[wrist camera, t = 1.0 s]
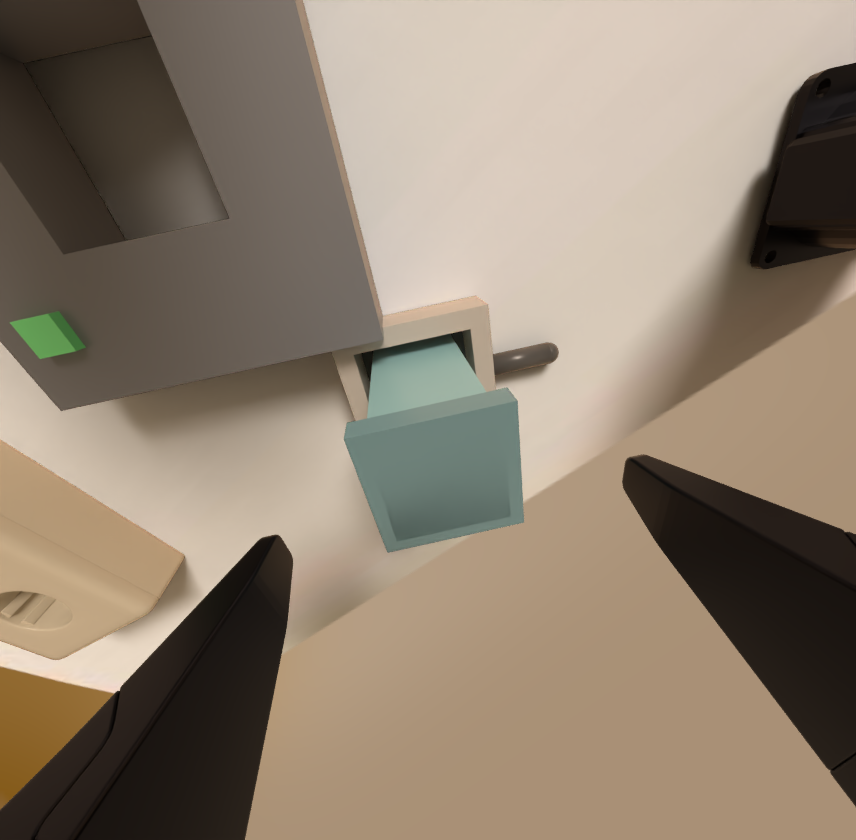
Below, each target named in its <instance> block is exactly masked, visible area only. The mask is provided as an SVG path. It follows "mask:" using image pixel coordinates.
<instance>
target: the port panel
mask: <svg viewBox="0 0 856 840" xmlns="http://www.w3.org/2000/svg"><path fill="white" fill-rule="evenodd" d="M151 35H152V37H153V39H154V42H155V44H156V47H157V49H158V51H159V54H160V56H161V58H162V61H163V63H164V65H165V68H166V70H167V72H168V75H169V77H170V80H171V82H172V84H173V87H174V89H175V91H176V94H177V96H178V98H179V101H180V103H181V105H182V108H183V110H184V112H185V115H186V117H187V120H188V122H189V124H190V127H191V129H192V131H193V134H194V136H195V138H196V141H197V143H198V145H199V148H200V150H201V153H202V155H203V157H204V160H205V162H206V164H207V167H208V169H209V171H210V174H211V176H212V178H213V181H214V183H215V186H216V188H217V190H218V193H219V195H220V197H221V200H222V202H223V204H224V207H225V209H226V211H227V214H228V216H229V218H228V219H224V220H219V221H215V222H210V223H206V224H201V225H196V226H192V227H187V228H183V229H178V230H173V231H169V232H164V233H160V234H155V235H151V236H146V237H141V238H137V239H132V240H128V241H126V240H125V239H124V237H123V235H122V233H121V232H120V230H119V228H118V226H117V225H116V223H115V221H114V220H113V218H112V216H111V214H110V213H109V211H108V209H107V208H106V206H105V204H104V202H103V201H102V199H101V197H100V195H99V194H98V192H97V190H96V189H95V187H94V185H93V183H92V182H91V180H90V178H89V176H88V175H87V173H86V171H85V170H84V168H83V166H82V164H81V163H80V161H79V159H78V157H77V156H76V154H75V152H74V151H73V149H72V147H71V145H70V144H69V142H68V140H67V139H66V137H65V135H64V133H63V132H62V130H61V128H60V126H59V125H58V123H57V121H56V120H55V118H54V116H53V114H52V113H51V111H50V109H49V107H48V106H47V104H46V102H45V101H44V99H43V97H42V95H41V94H40V92H39V90H38V89H37V87H36V85H35V83H34V82H33V80H32V78H31V76H30V75H29V73H28V71H27V70H26V68H25V66H24V64H23V63H26V62H31V61H35V60H40V59H45V58H49V57H54V56H59V55H63V54H68V53H73V52H77V51H82V50H86V49H91V48H96V47H100V46H105V45H110V44H114V43H119V42H123V41H128V40H133V39H137V38H142V37H147V36H151ZM382 326H383V315H382V311H381V307H380V303H379V299H378V295H377V291H376V287H375V283H374V280H373V276H372V272H371V268H370V264H369V260H368V256H367V252H366V248H365V244H364V240H363V236H362V232H361V228H360V224H359V220H358V216H357V212H356V208H355V204H354V201H353V197H352V193H351V189H350V185H349V181H348V177H347V173H346V169H345V165H344V161H343V157H342V153H341V149H340V145H339V141H338V137H337V133H336V129H335V125H334V122H333V118H332V114H331V110H330V106H329V102H328V98H327V94H326V90H325V86H324V82H323V78H322V74H321V70H320V66H319V62H318V58H317V54H316V50H315V46H314V42H313V39H312V35H311V31H310V27H309V23H308V19H307V15H306V11H305V7H304V3H303V0H0V342H1V343H2V344H3V345H4V346H5V347H6V348H7V350H8V351H9V352H10V353H11V354H12V355H13V357H14V358H15V359H16V360H17V361H18V362H19V363H20V365H21V366H22V367H23V368H24V369H25V370H26V371H27V373H28V374H29V375H30V376H31V377H32V378H33V379H34V381H35V382H36V383H37V384H38V385H39V386H40V387H41V389H42V390H43V391H44V392H45V393H46V394H47V395H48V397H49V398H50V399H51V400H52V401H53V402H54V403H55V405H56V406H57V407H58V408H59V409H60V410H61V411H63V410H67V409H72V408H76V407H81V406H86V405H90V404H95V403H99V402H104V401H108V400H113V399H117V398H122V397H126V396H131V395H136V394H140V393H145V392H149V391H154V390H158V389H163V388H167V387H172V386H176V385H181V384H186V383H190V382H195V381H199V380H204V379H208V378H213V377H217V376H222V375H227V374H231V373H236V372H240V371H245V370H249V369H254V368H258V367H263V366H267V365H272V364H277V363H281V362H286V361H290V360H295V359H299V358H304V357H308V356H313V355H317V354H322V353H327V352H331V351H336V350H340V349H345V348H349V347H354V346H358V345H363V344H368V343H372V342H377V341H381V340H384V332H383V328H382Z"/></svg>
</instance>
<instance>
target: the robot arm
mask: <svg viewBox="0 0 856 840" xmlns="http://www.w3.org/2000/svg"><path fill="white" fill-rule="evenodd" d="M817 87H818V91H817V93H816V89H817ZM855 249H856V63H853V64H849V65H844V66H839V67H835V68H830V69H827V70H824V71H822V72H819V73H816V74H814V75H812V76H810V77H809V78H808V79H807V80H806V81H805V82H804V84H803V85H802V86H801V88H800V90H799V93H798V95H797V99H796V102H795V106H794V109H793V113H792V116H791V120H790V123H789V127H788V130H787V134H786V137H785V141H784V144H783V148H782V151H781V155H780V158H779V162H778V165H777V169H776V172H775V176H774V179H773V183H772V186H771V190H770V193H769V197H768V200H767V204H766V208H765V211H764V215H763V218H762V222H761V225H760V229H759V232H758V236H757V239H756V243H755V246H754V250H753V253H752V257H751V262H750V263H751V266H752V267H754V268H759V269H769V268H773V267H778V266H782V265H787V264H792V263H796V262H801V261H805V260H810V259H814V258H819V257H823V256H828V255H832V254H837V253H842V252H846V251H851V250H855ZM766 255H767V257H766ZM765 257H766V258H765ZM622 483H623V488H624V490H625V492H626V494H627V495H628V497H629V499H630V500H631V502H632V503H633V505H634V507H635V509H636V510H637V512H638V514H639V515H640V517H641V519H642V520H643V522H644V523H645V525H646V527H647V528H648V530H649V532H650V533H651V535H652V536H653V538H654V540H655V541H656V543H657V544H658V546H659V547H660V548H661V550H662V551H663V552H664V554H665V555H666V556H667V558H668V559H669V560H670V562H671V563H672V564H673V566H674V567H675V568H676V569H677V571H678V572H679V573H680V575H681V576H682V577H683V579H684V580H685V581H686V583H687V584H688V585H689V587H690V588H691V589H692V590H693V592H694V593H695V595H696V596H697V597H698V598H699V600H700V601H701V603H702V604H703V605H704V606H705V608H706V609H707V610H708V612H709V613H710V614H711V616H712V617H713V618H714V620H715V621H716V622H717V624H718V625H719V626H720V628H721V629H722V630H723V632H724V633H725V634H726V636H727V637H728V638H729V639H730V641H731V642H732V643H733V645H734V646H735V647H736V649H737V650H738V651H739V653H740V654H741V655H742V657H743V658H744V659H745V661H746V662H747V663H748V664H749V666H750V667H751V669H752V670H753V671H754V673H755V674H756V675H757V676H758V678H759V679H760V680H761V682H762V683H763V684H764V686H765V687H766V688H767V690H768V691H769V692H770V694H771V695H772V696H773V698H774V699H775V700H776V702H777V703H778V704H779V706H780V707H781V708H782V710H783V711H784V712H785V713H786V715H787V716H788V717H789V719H790V720H791V721H792V723H793V724H794V725H795V727H796V728H797V729H798V731H799V732H800V733H801V735H802V736H803V737H804V739H805V740H806V741H807V743H808V744H809V745H810V746H811V748H812V749H813V750H814V752H815V753H816V754H817V756H818V757H819V758H820V760H821V761H822V762H823V764H824V765H825V766H826V768H827V769H829V770H831V771H830V773H831V775H832V776H833V777H834V779H835V780H836V781H837V783H838V784H839V785H840V787H841V788H842V789H843V791H844V792H845V793H846V794H847V796H848V797H849V798H850V800H851V801H852V802H853V804H854V805H855V806H856V534H853V533H850V532H844V531H843V530H842V529H840V528H837V527H834V526H832V525H829V524H826V523H824V522H821V521H819V520H816V519H813V518H811V517H808V516H806V515H803V514H800V513H798V512H795V511H792V510H790V509H787V508H785V507H782V506H779V505H777V504H773V503H771V502H769V501H766V500H763V499H761V498H758V497H756V496H753V495H750V494H748V493H745V492H742V491H740V490H737V489H735V488H732V487H729V486H727V485H724V484H721V483H718V482H716V481H713V480H711V479H708V478H705V477H703V476H700V475H697V474H695V473H692V472H690V471H687V470H685V469H682V468H679V467H677V466H674V465H671V464H669V463H666V462H663V461H661V460H658V459H656V458H653V457H650V456H648V455H638V456H633V457H629V458H627V460H626V461H625V467H624V474H623V481H622ZM292 569H293V558H292V555H291V553H290V551H289V549H288V548H287V546H286V545H285V543H284V541H283V540H282V538H281V537H280V536H279V535H271V536H267V537H263V538H261V539H260V540H258V541H257V543H256V544H255V545H254V546H253V547H252V548H251V549H250V550H249V551H248V552H247V553H246V554H245V555H244V556H243V557H242V559H241V560H240V561H239V562H238V563H237V564H236V565H235V566H234V567H233V568H232V569H231V570H230V571H229V572H228V573H227V574H226V576H225V577H224V578H223V579H222V580H221V581H220V582H219V583H218V584H217V585H216V586H215V587H214V588H213V589H212V590H211V592H210V593H209V594H208V595H207V596H206V597H205V598H204V599H203V600H202V601H201V602H200V603H199V604H198V605H197V606H196V608H195V609H194V610H193V611H192V612H191V613H190V614H189V615H188V616H187V617H186V618H185V619H184V620H183V621H182V622H181V623H180V625H179V626H178V627H177V628H176V629H175V630H174V631H173V632H172V633H171V634H170V635H169V636H168V637H167V638H166V639H165V641H164V642H163V643H162V644H161V645H160V646H159V647H158V648H157V649H156V650H155V651H154V652H153V653H152V654H151V655H150V656H149V658H148V659H147V660H146V661H145V662H144V663H143V664H142V665H141V666H140V667H139V668H138V669H137V670H136V671H135V672H134V673H133V675H132V676H131V677H130V678H129V679H128V680H127V681H126V682H125V683H124V684H123V685H122V686H121V688H120V691H117V692H116V693H115V694H114V695H113V696H112V697H111V698H110V699H109V700H108V701H107V702H106V703H105V704H104V705H103V706H102V707H101V709H100V710H99V711H98V712H97V713H96V714H95V715H94V716H93V717H92V718H91V719H90V720H89V721H88V723H86V724H85V725H84V726H83V727H82V728H81V729H80V730H79V732H78V733H77V734H76V735H75V736H74V737H73V738H72V739H71V740H70V741H69V742H68V743H67V744H66V745H65V746H64V747H63V748H62V750H60V751H59V752H58V753H57V754H56V755H55V756H54V757H53V758H52V759H51V760H50V761H49V762H48V763H47V764H46V765H45V766H44V767H43V768H42V769H41V770H40V771H39V772H38V773H37V774H36V775H35V776H34V777H33V778H32V779H31V780H30V781H29V782H28V783H27V784H26V785H25V786H24V787H23V788H22V789H21V790H20V791H19V792H18V793H17V794H16V795H15V796H14V797H13V798H12V799H11V800H10V801H9V802H8V803H7V804H6V805H5V806H4V807H3V808H2V809H1V810H0V840H245V836H246V831H247V825H248V820H249V815H250V811H251V806H252V800H253V795H254V790H255V785H256V781H257V775H258V770H259V765H260V760H261V755H262V750H263V745H264V740H265V735H266V730H267V724H268V720H269V715H270V710H271V704H272V700H273V695H274V689H275V684H276V679H277V674H278V669H279V664H280V659H281V654H282V649H283V644H284V639H285V634H286V628H287V621H288V612H289V602H290V591H291V580H292Z"/></svg>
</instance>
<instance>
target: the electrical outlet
mask: <svg viewBox="0 0 856 840" xmlns="http://www.w3.org/2000/svg"><path fill="white" fill-rule="evenodd" d="M184 558H185V556H184V554H182V553H181V552H179V551H178V550H176V549H174V548H173V547H171V546H170V545H168V544H166V543H165V542H163V541H162V540H160V539H158V538H157V537H155V536H154V535H152V534H150V533H149V532H147V531H146V530H144V529H142V528H141V527H139V526H138V525H136V524H134V523H133V522H131V521H130V520H128V519H126V518H125V517H123V516H122V515H120V514H118V513H117V512H115V511H114V510H112V509H110V508H109V507H107V506H106V505H104V504H102V503H101V502H99V501H98V500H96V499H94V498H93V497H91V496H90V495H88V494H86V493H85V492H83V491H82V490H80V489H78V488H77V487H75V486H74V485H72V484H71V483H69V482H67V481H66V480H64V479H63V478H61V477H59V476H58V475H56V474H55V473H53V472H51V471H50V470H48V469H47V468H45V467H43V466H42V465H40V464H39V463H37V462H35V461H34V460H32V459H31V458H29V457H27V456H26V455H24V454H23V453H21V452H19V451H18V450H16V449H15V448H13V447H11V446H10V445H8V444H7V443H5V442H3V441H2V440H0V641H2V642H5V643H8V644H10V645H13V646H16V647H19V648H22V649H24V650H27V651H30V652H33V653H35V654H38V655H41V656H44V657H46V658H49V659H53V660H60V659H63V658H66V657H67V656H69V655H71V654H73V653H75V652H77V651H79V650H81V649H83V648H84V647H86V646H88V645H90V644H92V643H94V642H96V641H98V640H100V639H101V638H103V637H105V636H107V635H109V634H111V633H113V632H115V631H117V630H118V629H120V628H122V627H124V626H126V625H128V624H130V623H132V622H134V621H135V620H137V619H139V618H141V617H143V616H145V615H147V614H148V613H149V612H150V611H151V610H152V609H153V608H154V607H155V605H156V603H157V602H158V600H159V599H160V597H161V595H162V594H163V592H164V590H165V589H166V587H167V586H168V584H169V582H170V581H171V579H172V577H173V576H174V574H175V572H176V571H177V569H178V568H179V566H180V564H181V563H182V561H183V559H184Z"/></svg>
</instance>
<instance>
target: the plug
mask: <svg viewBox="0 0 856 840" xmlns="http://www.w3.org/2000/svg"><path fill="white" fill-rule="evenodd" d="M344 441H345V444H346V446H347V449H348V451H349V454H350V457H351V459H352V462H353V464H354V467H355V469H356V472H357V475H358V477H359V480H360V482H361V485H362V488H363V490H364V493H365V495H366V498H367V501H368V503H369V506H370V508H371V511H372V514H373V516H374V519H375V521H376V524H377V527H378V529H379V532H380V534H381V537H382V539H383V542H384V545H385V547H386V550H387V552H388V553H389V552H393V551H398V550H402V549H407V548H411V547H416V546H420V545H425V544H429V543H434V542H438V541H443V540H447V539H452V538H456V537H461V536H465V535H470V534H474V533H479V532H483V531H488V530H492V529H496V528H501V527H506V526H510V525H514V524H519V523H523V522H524V514H523V495H522V476H521V458H520V439H519V420H518V402H517V400H516V398H515V397H514V396H513V394H512V393H511V392H510V391H509V389H508V388H503V389H498V390H494V391H489V392H486V390H485V389H484V387H483V386H482V384H481V382H480V381H479V379H478V378H477V376H476V374H475V373H474V371H473V370H472V368H471V367H470V365H469V363H468V362H467V360H466V359H465V357H464V355H463V354H462V352H461V351H460V349H459V347H458V346H457V344H456V343H455V341H454V339H453V338H452V336H451V335H450V334H446V335H441V336H437V337H432V338H428V339H423V340H418V341H414V342H409V343H405V344H400V345H396V346H391V347H387V348H382V349H378V350H373V361H372V371H371V382H370V392H369V403H368V414H367V419H362V420H358V421H353V422H349V423H347V425H346V430H345V436H344Z"/></svg>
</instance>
